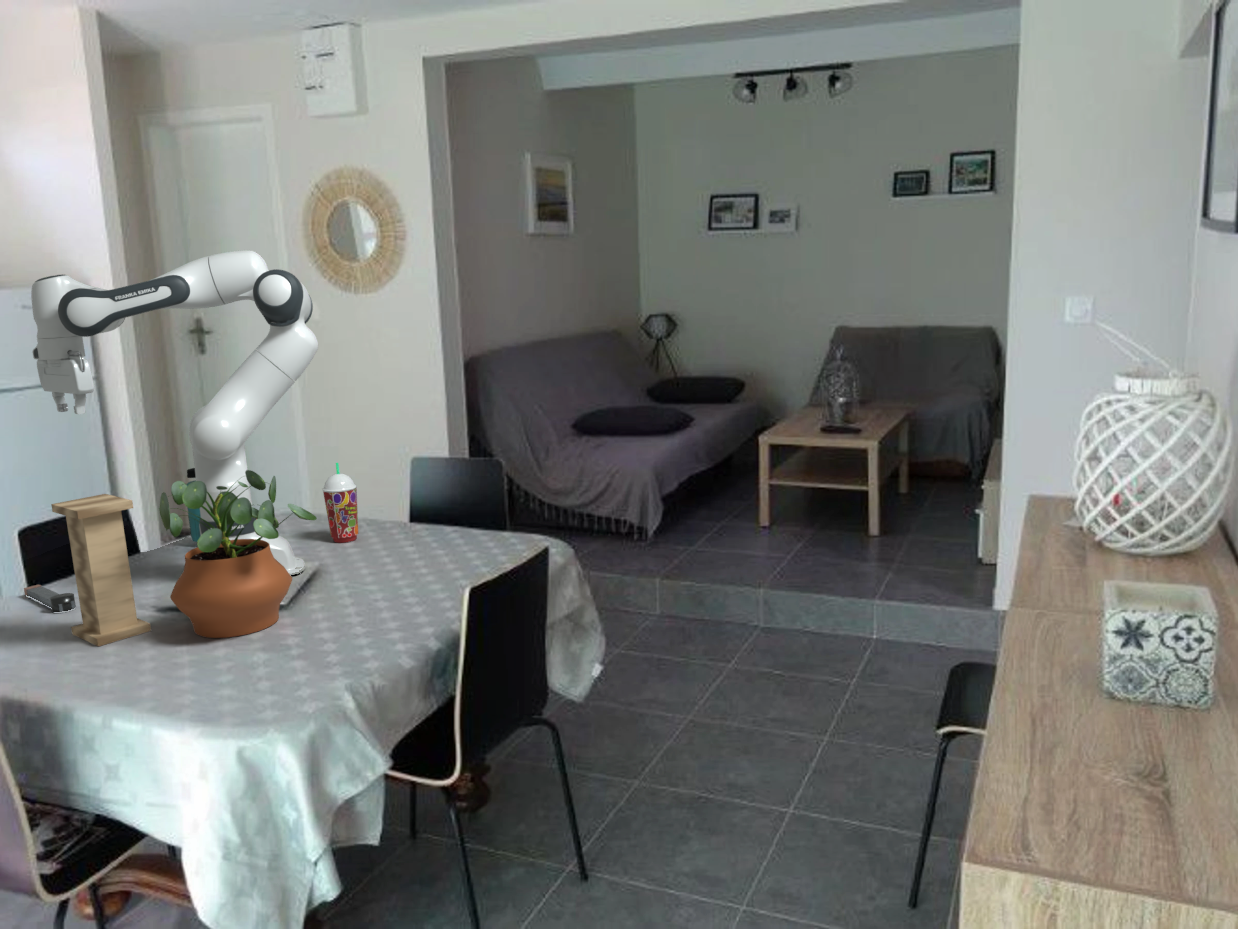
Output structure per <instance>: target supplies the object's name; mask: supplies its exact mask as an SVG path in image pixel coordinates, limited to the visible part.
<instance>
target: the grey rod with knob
mask: <svg viewBox="0 0 1238 929" xmlns="http://www.w3.org/2000/svg"><path fill="white" fill-rule="evenodd" d="M23 591H24V592H23V593H24V596H25V595H27V596H30V597H32V598H34V599H36V600H38V601H40V602H42V603H43V604H45V605H47V606H49V607H51V608H52V609H51V612H52V611H53V612H62V611H68V610H71V609H74V608H75V607H76V608H77V606H76V601H75V600H76V599H75V594H74V593H72V592H66V593H58V592H55V591H54V590H51V589H48V588H47V587H44V586H42V585H41V584H36V585H31V586H26V587H24V588H23ZM53 612H52V613H53Z"/></svg>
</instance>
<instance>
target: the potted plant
mask: <svg viewBox="0 0 1238 929" xmlns="http://www.w3.org/2000/svg"><path fill="white" fill-rule="evenodd" d="M245 474H246V478H247V481H248V482H249V484H250V487H249V488H250V489H251V487H252V488H254V489H256V490H258V491H264V490H266V488H267V484H268V485H269V487H268V493H267V494H268V498H269V499H267V500H264V501H263V502H262V503H261V504H258V506H259V509H258V508H256V507H254V506H253V504H252V505H251V503H250V501H249V500H248V499H247V498H245V497H242V498H239V499H238V497H239V496H240V495H241V494H242V493H243V492H244V491H245V490H244V491H243V492H242V493H240V494H239V495H238V496H236V495H235V494H233V493H232V491H233V490H235V489H236V488H237V487H238V486H237V487H236V488H235V489H233V490H232V491H230V492H228V491H229V490H230V488H231V487H232V486H233V485H234V484H235V483H236V482H237V481H238V480H237V481H236V482H235V483H234V484H233V485H232V486H231V487H230V488H229V489H228V491H224V492H221V491H220V494H219V495H218V496H217V498H216V500H215V502H214V500H213V498H212V497H211V495H210V494H209V493H208V492H207V488H206V485H205V483H204V482H202V481H195V480H194V481H195V482H192V483H190V484H187V483H185V482H184V481H182V480H176V481H175V482H173V483H172V485H171V490H170V492H171V495H167V494H166V492H165V491H163V492H161V495H160V499H159V506H158V509H159V510H158V511H159V516H160V519H161V521H162V525H163V526H164V528H165V530H166V531H168V530H169V532H170V534H171V536H173V537H174V538H177V537H178V536H180V535H181V533H182V530H183V526H184V521H183V520H182V518H181V517H182V516H184V517H185V516H186V517H188V514H187V515H186V514H183V515H182V514H181V515H178V514H177V513H176V512H171V510H173V509H174V510H180V511H183V512H185V513H190V512H188V510H184V509H183V508H182V509H181V508H177V507H175V508H173V507H172V508H170V502H169V498H168V497H172V499H173V502H174V503H175V504H176V505H179V506H181V505H183V504H184V506H185V507H186V508H187V507H188V508H190V509H199V508H200V507H202V508H203V509H205V510H206V512H207V513H208V514H209V515H210V516H211V517H212V518H213V520H214V521H215V523H216V525H217V528H215V527H214V526H212V525H211V524H210V523H209V522H207V521H206V520H204V519H202V518H200V517H198V516H197V517H198V518H200V519H201V520H203V521H204V522H205V523H207V524H208V525H209V526H210V527H211V528H212V529H210V528H209V527H208V526H206V525H205V524H203V523H202V524H203V525H204V526H206V527H207V528H208V529H209V530H207V531H206V532H204V533H203V534H202V535H201V536H200V538H199V539H198V541H197V542H196V543H197V547H194V548H192V549H190V550H189V551H187V552H186V553H185V555H184V567H183V572H181V575H179V577H178V578H177V580H176V582H175V584H174V587H173V588H172V591H171V593H170V595H169V596H170V597H169V598H170V600H171V602H172V603H173V604H174V605H175V607H176V608H177V609H178V611H180V612H181V613H182V614H184V615H185V616H186V617H188V618H189V621H190V622H191V624H192V627H193V632H194V633H195V635H197V636H200V637H203V638H209V639H210V638H211V639H226V638H234V637H241V636H245V635H246V636H247V635H250V634H253V633H257V632H260V631H263V630H265V629H268V628H270V627H271V626H273V625H274V624H276V623H277V622H278V621H279V619H280V614H279V611H280V607H281V603H282V602H283V600H284V599H285V597H286V596H287V594H288V592H289V589H290V587H291V585H292V583H293V576H291V575H290V574H289V573H288V571H287V570H286V569H285V567H284V566H283V565H281V564H280V563H279V562H278V561H277V560H276V559H275V558H274V557H273V554H272V552H271V550H270V545H269V543H268V542H266V541H264V540H261V538H263V537H264V538H267V539H275V538H278V536H280V534H279V532H278V529H279V526H280V525H281V524H282V523H283V522H284V521H285V520H287V519H288V518H290V517H291V515H293V514H294V515H295V516H296V517H297V518H298V519H301V520H305V521H317V516H316V515H315V514H313V513H312V512H310V511H309V510H306V509H304V508H302V507H301V506H298V505H297V504H293V503H288V504H287V507H288V509H290V511H291V512H292V513H291V514H289V515H287V517H285V519H283V520H281V522H280V523H279V520H278V519H277V518H276V517H275V507H274V503H275V501H276V498H277V479H276V476H275V475H273V477H272V478H271V481H270V483H268V481H267V482H266V481H265V480H264V478H263V477H262V476H260V474H258V473H257V472H255V471H253V470H250V469H248V470H246V472H245ZM243 477H244V476H243ZM241 478H242V477H241ZM238 483H239V484H240V485H241V486H242V487H248V486H247V485H246V484H244V483H242V482H239V481H238ZM186 484H187V485H188V486H187V485H186ZM216 488H217V489H218V490H225V489H227V487H224V486H217V487H216ZM247 489H248V488H247ZM247 489H246V490H247ZM207 494H208V495H209V497H210V500H211V502H212V505H213V508H212V507H211V505H210V504H209V503H208V502H207V500H206V497H207ZM205 502H206V504H207V505H208V507H209V509H210V511H211V512H210V511H209V510H208V509H207V508H206V507H204V506H203V504H204V503H205ZM191 514H192V513H191ZM193 515H194V514H193ZM195 516H196V515H195ZM189 517H190V516H189ZM189 517H188V518H189ZM252 517H253V518H257V520H255V521H254V523H253V526H254V529H255V533H256V534H257V535H259V536H261V537H260V538H258V539H238V537H239V535H240V533H241V532H242V530H243V529H244V528H245V526H246V525H247V524H248V523H249V522H250V521H251V520H252V519H251V518H252ZM191 518H192V517H191ZM193 519H194V518H193ZM195 520H196V519H195ZM197 521H198V520H197ZM198 522H200V521H198ZM234 522H236V523H238V526H237V527H236V528H235V529H233V530H232V531H231V528H232V526H233V523H234ZM200 523H201V522H200ZM240 524H246V525H245V526H244V528H243V529H242V530H241V531H240V532H239V534H238V535H237V537H236V538H235V540H230V539H229V536H230V535H231V534H232V533H233V532H234V531H235V530H236V529H237V528H238V527H239V525H240ZM227 525H230V526H229V528H228V529H227ZM230 531H231V532H230Z"/></svg>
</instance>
